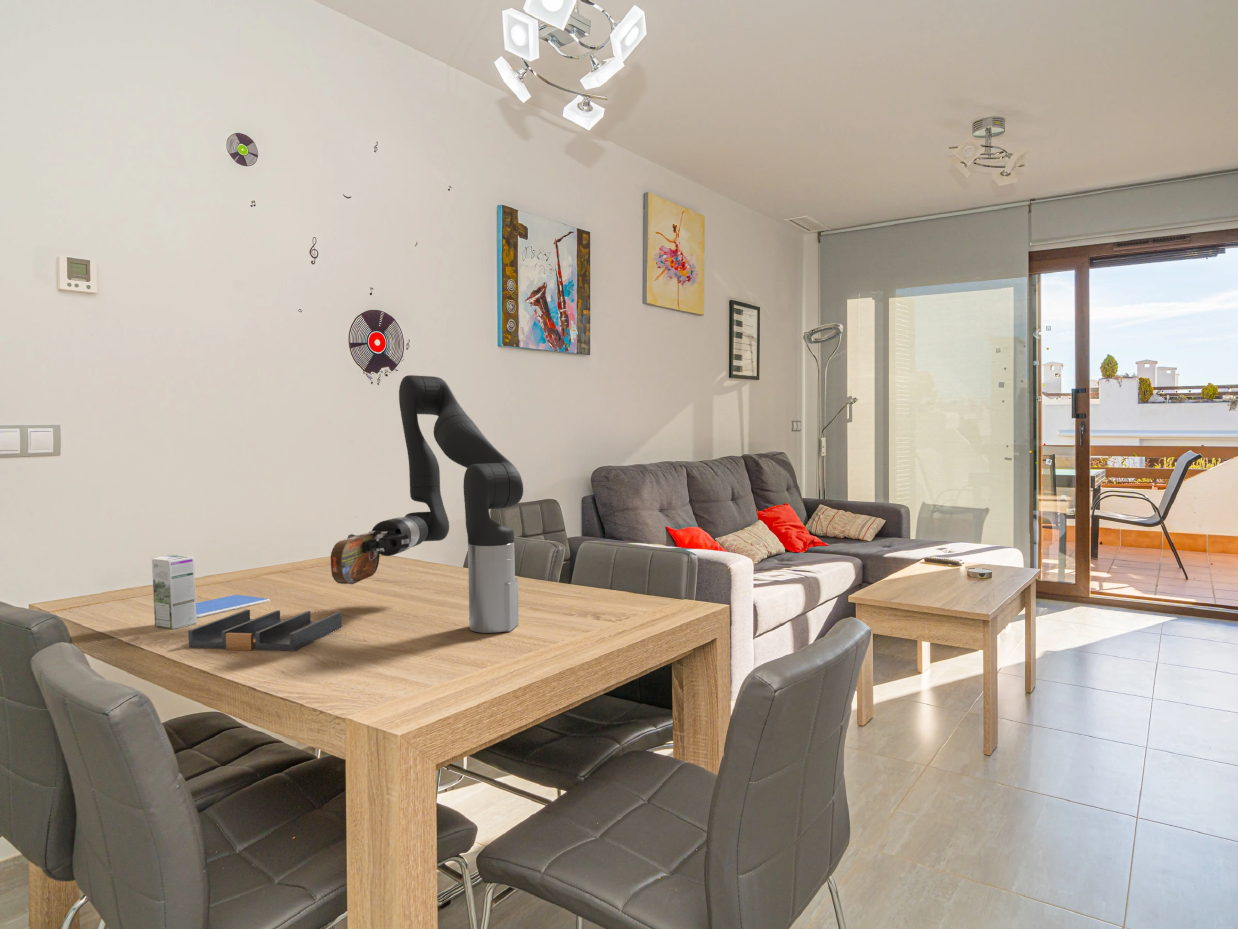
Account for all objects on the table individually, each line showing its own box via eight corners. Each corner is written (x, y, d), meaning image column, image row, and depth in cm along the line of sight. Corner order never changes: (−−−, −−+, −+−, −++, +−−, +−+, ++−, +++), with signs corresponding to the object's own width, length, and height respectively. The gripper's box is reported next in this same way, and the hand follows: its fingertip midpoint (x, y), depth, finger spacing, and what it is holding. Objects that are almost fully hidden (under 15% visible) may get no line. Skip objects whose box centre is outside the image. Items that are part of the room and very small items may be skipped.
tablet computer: (237, 598, 186) (236, 593, 186) (272, 603, 181) (272, 597, 181) (159, 615, 169) (159, 610, 169) (195, 621, 164) (195, 615, 163)
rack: (341, 627, 154) (341, 612, 154) (292, 652, 137) (291, 634, 137) (246, 624, 157) (246, 609, 157) (186, 648, 140) (186, 631, 140)
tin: (343, 588, 138) (343, 542, 138) (327, 587, 139) (327, 542, 138) (381, 572, 153) (381, 531, 153) (366, 572, 154) (366, 530, 153)
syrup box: (198, 623, 159) (195, 555, 159) (171, 630, 154) (168, 559, 153) (180, 621, 162) (177, 553, 161) (153, 627, 156) (150, 557, 156)
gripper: (364, 518, 164) (322, 528, 147) (425, 518, 162) (389, 528, 145) (365, 552, 164) (323, 566, 147) (427, 553, 162) (391, 567, 145)
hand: (356, 547), depth 146 cm, fingers closed on tin, 2 cm apart
